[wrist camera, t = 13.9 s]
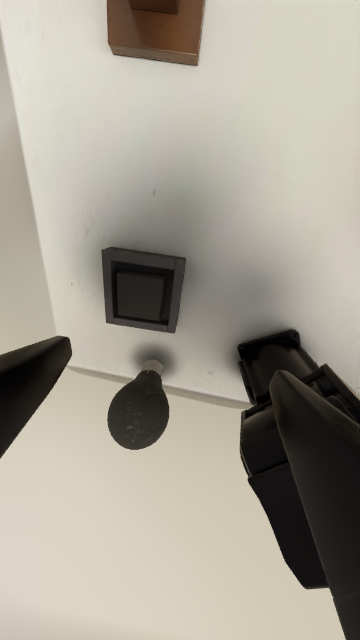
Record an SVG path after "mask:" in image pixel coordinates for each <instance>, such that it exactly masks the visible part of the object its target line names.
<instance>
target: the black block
mask: <svg viewBox="0 0 360 640" xmlns="http://www.w3.org/2000/svg"><path fill="white" fill-rule="evenodd" d="M165 283H166V275H165V274H158V273H151V272H145V271H138V270H131V269H123V270H122V271H120V272H118V273H117V295H118V315H123V316H129V317H136V318H142V319H149V320H156V321H159V320H160V318H161V315H162V313H163V304H164V294H165Z"/></svg>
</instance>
